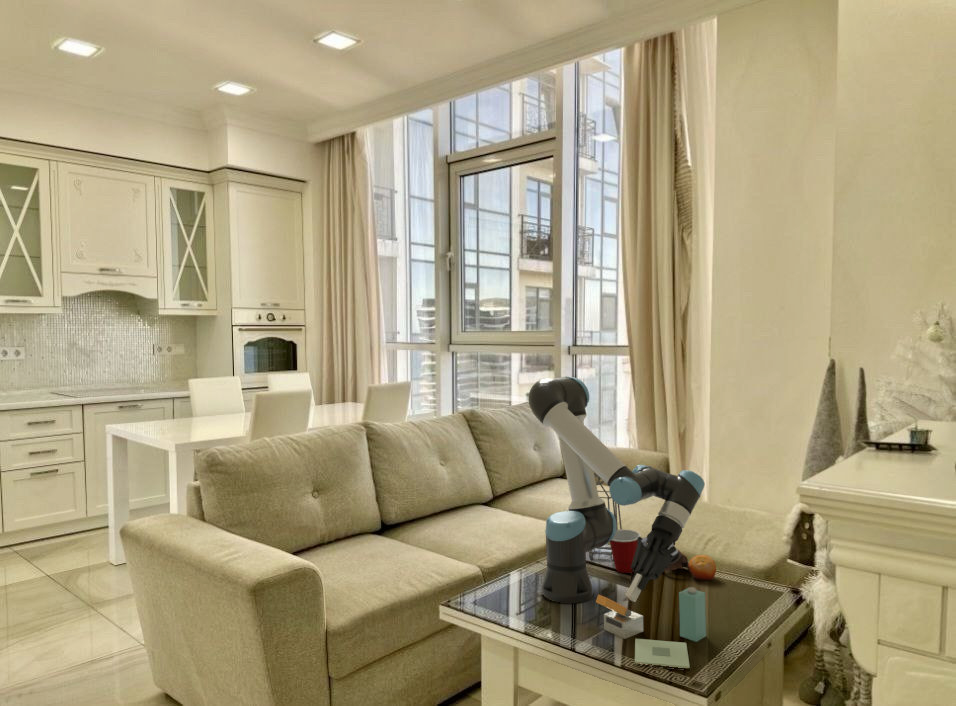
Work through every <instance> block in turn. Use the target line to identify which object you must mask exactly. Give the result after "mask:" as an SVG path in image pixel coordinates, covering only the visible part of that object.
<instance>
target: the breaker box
mask: <svg viewBox="0 0 956 706" xmlns="http://www.w3.org/2000/svg"><path fill="white" fill-rule="evenodd" d="M630 611H631V616H630V617H628V616H624V615H621V614H619V613H617V612H614V611H612V610H610V611H608V612H605V613H603V630H604V631H606V632H608V633H611V634H613V635H615V636H617V637H619V638H622V639H624V640H626V639H628V638H630V637H633V636H635V635H638V634H640V633H643V632H644V615H642V614H640V613H637V612H635V611H632V610H630Z"/></svg>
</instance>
